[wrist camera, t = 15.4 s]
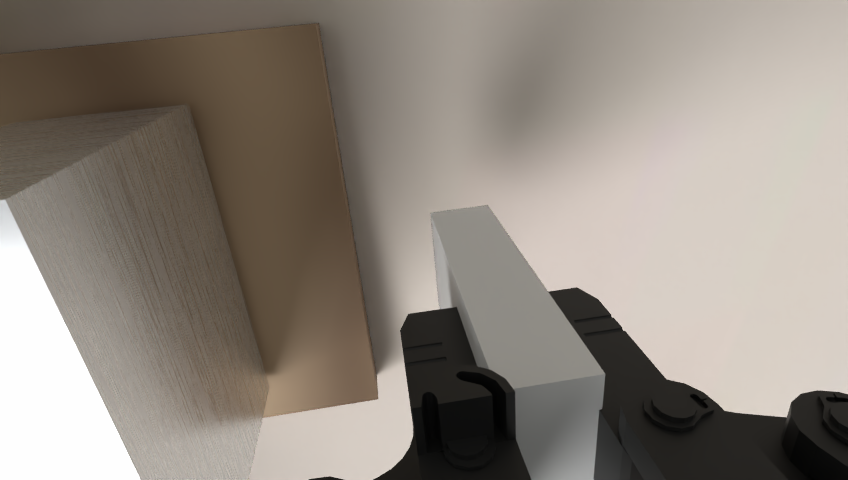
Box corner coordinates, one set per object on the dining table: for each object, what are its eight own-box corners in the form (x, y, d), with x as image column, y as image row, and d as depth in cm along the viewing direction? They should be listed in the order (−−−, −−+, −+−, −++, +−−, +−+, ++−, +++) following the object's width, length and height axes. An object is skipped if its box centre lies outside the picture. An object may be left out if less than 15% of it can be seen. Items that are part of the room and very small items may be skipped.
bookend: (141, 407, 15) (-5, 675, 9) (16, 121, 12) (-381, 246, 5) (269, 386, 16) (214, 632, 9) (188, 103, 12) (4, 199, 6)
